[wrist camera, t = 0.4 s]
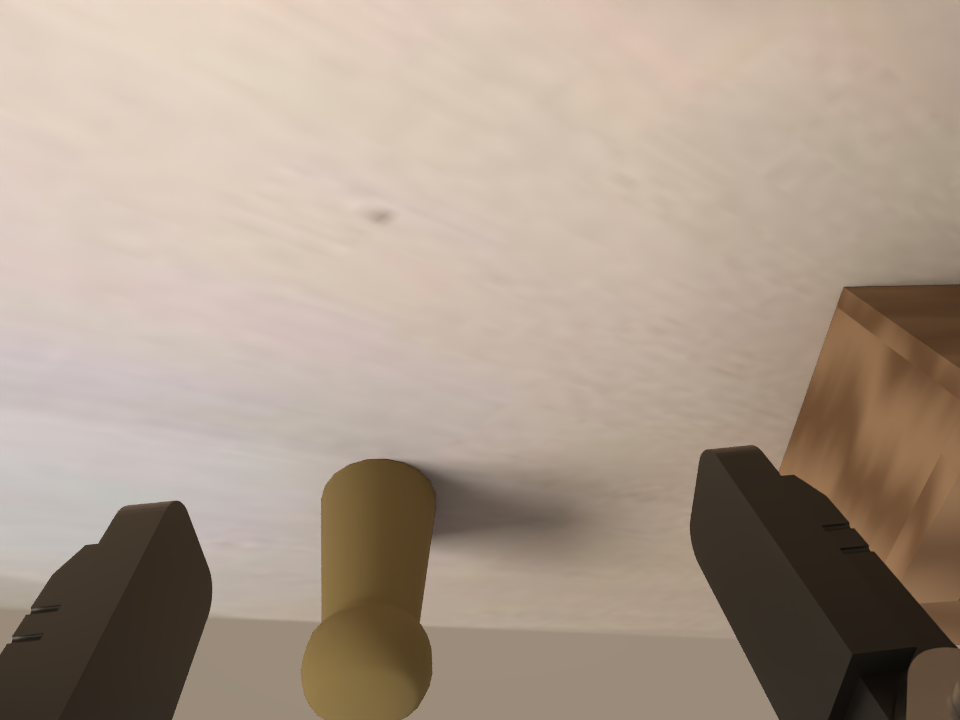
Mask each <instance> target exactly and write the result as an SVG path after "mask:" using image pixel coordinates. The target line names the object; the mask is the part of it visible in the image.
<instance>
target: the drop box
mask: <svg viewBox="0 0 960 720" xmlns="http://www.w3.org/2000/svg"><path fill="white" fill-rule="evenodd" d="M779 473H780V475H781V476H785V475H795V476H797V477H798V478H800V479H802V480H803V481H805V482H806V483H808V484H809V485H811V486H812V487H814V488H815V489H817V490H818V491H820V492H821V493H823V494H824V495H826V496H827V497H828V498H829V499H830V500H831V502H832V503H833V504H834V505H835V506H836V507H837V509H838V510H839V511H840V512H841V513H842V514H843V516H844V517H845V518H846V519H847V520H848V521H849V523H850V527H851V528H855V530H856V531H857V532H858V533H859V534H860V535H861V537H862V538H863V539H864V540H865V541H866V542H867V544H868V545H869V549H870V551H871V552H872V551H874V552H875V553H876V554H877V555H878V556H879V558H880V559H881V560H882V561H883V562H884V563H885V564H886V566H887V567H888V568H889V569H890V570H891V571H892V573H893V574H894V575H895V576H896V577H897V578H898V580H899V581H900V582H901V583H902V584H903V585H904V587H905V588H906V589H907V590H908V591H909V592H910V594H911V595H912V596H913V597H914V598H915V599H916V601H917V602H918V603H919V604H920V605H921V606H922V608H923V609H924V610H925V611H926V612H927V613H928V615H929V616H930V617H931V618H932V619H933V620H934V622H935V623H936V624H937V625H938V626H939V627H940V629H941V630H942V631H943V632H944V633H945V634H946V635H947V637H948V638H949V639H950V640H951V641H952V642H953V643H954V644H955V645H960V285H924V286H879V287H844V288H843V291H842V294H841V296H840V299H839V302H838V305H837V308H836V311H835V314H834V316H833V319H832V322H831V325H830V328H829V331H828V334H827V336H826V339H825V342H824V345H823V348H822V351H821V354H820V356H819V359H818V362H817V365H816V368H815V371H814V374H813V376H812V379H811V382H810V385H809V388H808V391H807V393H806V396H805V399H804V402H803V405H802V408H801V411H800V413H799V416H798V419H797V422H796V425H795V428H794V431H793V433H792V436H791V439H790V442H789V445H788V448H787V451H786V453H785V456H784V459H783V462H782V465H781V468H780V471H779Z"/></svg>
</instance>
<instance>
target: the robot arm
mask: <svg viewBox="0 0 960 720" xmlns="http://www.w3.org/2000/svg"><path fill="white" fill-rule="evenodd" d="M690 535H691V542H692V546H693V550H694V554H695V556H696V559H697V561H698V564H699V566H700V567H701V569H702V571H703V573H704V575H705V577H706V579H707V581H708V583H709V585H710V587H711V589H712V591H713V593H714V595H715V596H716V598H717V600H718V602H719V604H720V606H721V608H722V610H723V612H724V614H725V616H726V618H727V620H728V622H729V624H730V626H731V627H732V629H733V631H734V633H735V635H736V637H737V639H738V641H739V643H740V645H741V647H742V649H743V651H744V653H745V654H746V656H747V658H748V660H749V662H750V664H751V666H752V668H753V670H754V672H755V674H756V676H757V678H758V680H759V682H760V684H761V685H762V687H763V689H764V691H765V693H766V695H767V697H768V699H769V701H770V703H771V705H772V707H773V709H774V711H775V712H776V714H777V716H778V718H779V720H960V649H959V648H958V647H957V646H956V645H955V644H954V643H953V642H952V641H951V640H950V639H949V638H948V637H947V635H946V634H945V633H944V632H943V631H942V630H941V629H940V627H939V626H938V625H937V624H936V623H935V622H934V620H933V619H932V618H931V617H930V616H929V615H928V613H927V612H926V611H925V610H924V609H923V608H922V606H921V605H920V604H919V603H918V602H917V601H916V599H915V598H914V597H913V596H912V595H911V594H910V592H909V591H908V590H907V589H906V588H905V587H904V585H903V584H902V583H901V582H900V581H899V580H898V578H897V577H896V576H895V575H894V574H893V573H892V571H891V570H890V569H889V568H888V567H887V566H886V564H885V563H884V562H883V561H882V560H881V559H880V558H879V556H878V555H877V554H876V553H875V552H874V551H872V552H871V551H870V549H869V545H868V544H867V542H866V541H865V540H864V539H863V538H862V537H861V535H860V534H859V533H858V532H857V531H856V530H855V528H851V527H850V523H849V521H848V520H847V519H846V518H845V517H844V516H843V514H842V513H841V512H840V511H839V510H838V509H837V507H836V506H835V505H834V504H833V503H832V502H831V500H830V499H829V498H828V497H827V496H826V495H824V494H823V493H821V492H820V491H818V490H817V489H815V488H814V487H812V486H811V485H809V484H808V483H806V482H805V481H803V480H802V479H800V478H798V477H797V476H795V475H785V476H781V475H780V473H779V472H778V471H777V470H776V468H775V467H774V466H773V465H772V463H771V462H770V461H769V460H768V458H767V457H766V456H765V455H764V453H763V452H762V451H761V450H760V449H759V448H758V447H756V446H754V445H749V446H739V447H728V448H718V449H708V450H705V451H704V452H703V453H702V454H701V457H700V461H699V467H698V473H697V480H696V487H695V493H694V500H693V506H692V513H691V520H690ZM211 601H212V580H211V574H210V570H209V567H208V565H207V562H206V559H205V557H204V554H203V552H202V549H201V546H200V544H199V541H198V538H197V536H196V533H195V530H194V528H193V525H192V522H191V520H190V517H189V514H188V512H187V509H186V507H185V506H184V505H183V504H182V503H181V502H180V501H168V502H158V503H148V504H138V505H128V506H124V507H123V508H121V509H120V510H119V511H118V513H117V514H116V515H115V517H114V519H113V520H112V522H111V524H110V525H109V527H108V529H107V530H106V532H105V533H104V535H103V537H102V538H101V540H100V542H99V543H98V544H92V545H85V546H84V547H83V548H82V549H81V550H80V551H79V552H77V553H76V554H75V555H74V556H73V557H72V558H71V559H70V560H69V561H67V562H66V563H65V564H64V565H63V566H62V567H61V568H60V569H58V570H57V571H56V572H55V573H54V574H53V575H52V576H51V578H50V579H49V581H48V582H47V584H46V586H45V587H44V589H43V590H42V592H41V593H40V595H39V596H38V598H37V599H36V601H35V602H34V604H33V605H32V607H31V614H30V615H26V616H25V618H24V619H23V621H22V622H21V624H20V625H19V627H18V628H17V630H16V631H15V633H14V635H13V636H12V637H13V640H12V643H10V644H7V645H6V647H5V648H4V650H3V651H2V653H1V654H0V720H172V718H173V715H174V712H175V709H176V706H177V703H178V701H179V698H180V695H181V692H182V689H183V686H184V683H185V680H186V678H187V675H188V672H189V669H190V666H191V663H192V661H193V658H194V655H195V652H196V649H197V646H198V643H199V641H200V637H201V635H202V632H203V629H204V626H205V623H206V621H207V618H208V615H209V611H210V607H211Z"/></svg>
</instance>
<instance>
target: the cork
mask: <svg viewBox="0 0 960 720" xmlns="http://www.w3.org/2000/svg"><path fill="white" fill-rule="evenodd" d="M435 509H436V493H435V491H434V489H433V487H432V485H431V483H430V481H429V480H428V479H427V478H426V477H425V476H424V475H423V474H422V473H421V472H420V471H419V470H417V469H415V468H413V467H411V466H409V465H407V464H405V463H402V462H397V461H393V460H388V459H373V460H364V461H361V462H357V463H354V464H350V465H348V466H346V467H345V468H343V469H342V470H340V471H338V472H337V473H335V474H334V475H333V477H332V478H331V479H330V480H329V482H328V483H327V484H326V485H325V488H324V491H323V495H322V498H321V574H322V623H321V624H320V625H319V626H318V627H317V628H316V629H315V630H314V632H313V633H312V635H311V638H310V640H309V642H308V644H307V647H306V650H305V653H304V656H303V661H302V667H301V678H302V686H303V691H304V695H305V697H306V700H307V702H308V704H309V706H310V707H311V708H312V709H313V711H314V712H315V713H316V714H317V716H319V717H321V718H323V719H324V720H401V719H404V718H406V717H407V716H409V715H410V714H411V713H412V712H413V711H414V710H416V709H417V708H418V706H419V704H420V703H421V701H422V699H423V698H424V696H425V694H426V692H427V690H428V688H429V686H430V681H431V676H432V653H431V646H430V642H429V639H428V636H427V634H426V632H425V630H424V629H423V627H422V625H421V624H420V616H421V609H422V602H423V595H424V588H425V580H426V573H427V566H428V559H429V552H430V545H431V538H432V531H433V524H434V517H435Z"/></svg>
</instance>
